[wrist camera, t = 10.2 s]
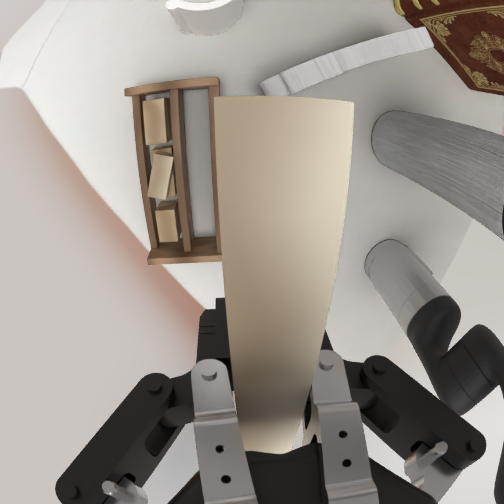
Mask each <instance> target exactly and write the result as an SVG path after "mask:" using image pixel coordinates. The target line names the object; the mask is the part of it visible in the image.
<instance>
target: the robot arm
mask: <svg viewBox="0 0 504 504" xmlns="http://www.w3.org/2000/svg"><path fill="white" fill-rule="evenodd" d="M365 272H366V274H367V276H368V277H369V278H370V280H371V281H372V283H373V284H374V286H375V287H376V289H377V290H378V292H379V293H380V295H381V296H382V298H383V299H384V301H385V302H386V304H387V305H388V307H389V308H390V310H391V312H392V313H393V315H394V316H395V318H396V319H397V321H398V322H399V324H400V326H401V327H402V329H403V330H404V332H405V334H406V335H407V337H408V338H409V340H410V341H411V343H412V345H413V347H414V349H415V351H416V353H417V355H418V357H419V358H420V360H421V362H422V364H423V366H424V368H425V370H426V372H427V374H428V376H429V379H430V381H431V383H432V385H433V387H434V389H435V391H436V393H437V396H438V397H439V399H440V400H439V399H438V398H437V397H435V396H434V395H433V394H432V393H430V392H429V391H428V390H427V389H425V388H424V387H423V386H422V385H420V384H419V383H418V382H417V381H415V380H414V379H413V378H412V377H410V376H409V375H408V374H407V373H405V372H404V371H403V370H402V369H400V368H399V367H398V366H397V365H395V364H394V363H393V362H392V361H390V360H389V359H387V358H386V357H384V356H380V355H374V356H371V357H369V358H367V359H366V360H365V362H364V363H359V362H350V361H346V360H343V359H342V358H341V356H340V355H339V354H337V353H336V352H334V351H333V348H332V346H331V343H330V340H329V338H328V335H327V333H326V330H325V332H324V336H323V341H322V345H321V349H320V353H319V357H318V361H317V365H316V369H315V373H314V377H313V380H312V384H311V388H310V391H309V395H308V399H307V402H306V405H305V409H304V412H303V415H302V419H303V442H302V447H300V448H297V449H295V450H292V451H289V452H287V453H284V454H274V453H265V452H258V451H245V450H244V445H243V441H242V436H241V432H240V427H239V423H238V418H237V414H236V412H235V407H234V402H233V395H232V391H234V384H233V375H232V366H231V356H230V346H229V336H228V325H227V314H226V303H225V298H216V309H206V310H205V311H204V312H203V313H202V315H201V316H200V322H199V335H198V347H197V361H196V364H195V366H194V367H193V369H192V370H191V371H190V372H188V373H186V374H184V375H182V376H179V377H175V378H171V379H170V378H169V377H167V376H166V375H164V374H161V373H151V374H148V375H146V376H144V378H142V379H141V380H140V381H139V382H138V384H137V385H136V386H135V387H134V389H133V390H132V391H131V392H130V393H129V395H128V396H127V397H126V398H125V399H124V401H123V402H122V403H121V404H120V405H119V407H118V408H117V409H116V410H115V411H114V413H113V414H112V415H111V416H110V417H109V419H108V420H107V421H106V422H105V424H104V425H103V426H102V427H101V428H100V429H99V431H98V432H97V433H96V434H95V436H94V437H93V438H92V439H91V440H90V441H89V443H88V444H87V445H86V446H85V448H84V449H83V450H82V451H81V452H80V454H79V455H78V456H77V457H76V459H75V460H74V461H73V462H72V463H71V465H70V466H69V467H68V468H67V469H66V471H65V472H64V473H63V474H62V475H61V477H60V478H59V479H58V481H57V483H56V487H55V490H56V495H57V497H58V499H59V500H60V502H61V503H62V504H147V503H148V499H147V495H146V493H145V491H144V490H143V489H142V487H143V485H144V484H145V482H146V481H147V480H148V478H149V477H150V475H151V474H152V473H153V471H154V470H155V468H156V467H157V465H158V464H159V462H160V461H161V460H162V458H163V457H164V455H165V454H166V452H167V451H168V449H169V448H170V447H171V445H172V443H173V442H174V441H175V439H176V438H177V436H178V435H179V433H180V432H181V430H182V429H183V427H184V426H185V424H187V423H191V422H194V433H195V441H196V449H197V457H198V464H199V471H198V472H197V473H196V474H195V475H194V476H193V477H192V478H191V479H190V480H189V481H188V482H187V484H186V485H185V486H184V487H183V488H182V489H181V490H180V491H179V492H178V493H177V494H176V495H175V496H174V497H173V498H172V499H171V500H170V502H169V503H168V504H438V502H439V501H440V500H441V498H442V497H443V496H444V495H445V493H446V492H447V491H448V489H449V488H450V487H451V486H452V484H453V483H454V481H455V480H456V479H457V477H458V476H459V474H460V473H461V472H462V470H463V469H465V468H466V467H468V466H469V465H471V464H472V463H474V462H475V461H477V460H478V459H480V458H481V457H482V455H483V454H484V453H485V450H486V440H485V437H484V436H483V435H482V434H481V433H480V432H479V431H478V430H476V429H475V428H474V427H473V426H471V425H470V424H469V423H468V422H467V421H465V420H464V419H463V418H461V417H460V416H461V415H463V414H465V413H466V412H468V411H469V410H470V409H472V408H473V407H474V406H475V405H476V404H477V403H479V402H480V401H481V400H482V399H484V398H485V397H486V396H487V395H488V394H489V393H490V392H491V391H492V390H494V388H496V387H497V386H498V385H500V387H501V390H502V393H503V398H504V346H503V345H502V343H501V342H500V341H499V339H498V338H497V337H496V336H495V334H494V333H493V332H492V331H491V330H490V329H488V328H487V327H485V326H484V325H480V324H479V325H475V326H474V327H473V328H472V329H470V330H469V331H468V333H466V334H465V335H464V336H463V337H462V338H461V339H460V340H459V341H458V342H457V343H456V344H455V345H454V346H453V347H452V348H451V349H450V350H449V351H448V347H449V344H450V342H451V339H452V337H453V335H454V333H455V331H456V330H457V328H458V325H459V322H460V319H461V312H460V308H459V306H458V305H457V303H456V302H455V301H454V300H453V299H452V298H451V296H450V295H449V294H448V293H447V292H446V291H445V289H444V288H443V287H442V286H441V285H440V284H439V283H438V282H437V281H436V280H435V278H434V277H433V276H432V271H431V270H430V269H429V268H428V267H427V266H426V265H425V264H424V263H423V262H422V261H421V259H420V258H419V257H418V256H417V255H416V254H415V253H414V252H413V251H412V250H411V249H410V248H409V247H408V246H403V245H402V244H401V243H400V242H398V241H396V240H386V241H383V242H381V243H379V244H378V245H376V246H375V247H374V248H373V249H372V250H371V251H370V253H369V254H368V256H367V258H366V261H365ZM447 351H448V352H447ZM362 422H363V423H364V424H365V425H366V426H368V427H369V428H370V429H371V430H372V431H373V432H374V433H375V434H376V435H377V436H378V437H380V439H382V440H383V441H384V442H385V443H386V444H387V445H388V446H389V447H390V448H392V449H393V450H394V451H395V452H396V453H397V454H398V455H399V456H400V457H402V458H403V459H404V460H405V464H404V469H405V474H406V475H407V476H409V478H410V479H411V483H412V484H411V483H409V482H407V481H406V480H404V479H402V478H401V477H399V476H398V475H396V474H394V473H393V472H391V471H389V470H388V469H386V468H385V467H383V466H382V465H380V464H379V463H377V462H375V461H374V460H373V459H371V458H370V457H368V451H367V446H366V440H365V435H364V430H363V424H362ZM494 497H495V501H496V504H504V443H503V448H502V453H501V458H500V462H499V466H498V471H497V476H496V481H495V488H494Z"/></svg>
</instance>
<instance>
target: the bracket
mask: <svg viewBox="0 0 504 504" xmlns="http://www.w3.org/2000/svg"><path fill="white" fill-rule="evenodd" d="M243 2H244V0H216V1H213V2H209V3H202V4H196V3H188V2H185V1H182V0H170V1H167V3H166V8H167V9H168V10H169V12H170V13H171V15H172V16H173V18H174V19H175V21H176V22H177V24H178V25H179V27H180V28H181V30H182V31H183V33H184V34H191V33H194V34H197V35H202V36H213V35H218V34H221V33H224V32H226V31H228V30H229V29H231V28H232V27H233V26H234V25H235V24H236V23H237V22H238V20H239V19H240V16H241V13H242V8H243Z"/></svg>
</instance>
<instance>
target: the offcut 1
mask: <svg viewBox="0 0 504 504" xmlns="http://www.w3.org/2000/svg"><path fill="white" fill-rule="evenodd" d="M143 114H144V128H145V139H146V145H153V144H161V143H167V142H169V141H170V140H172V124H171V106H170V99H169V98H161V99H154V100H147V101H143Z"/></svg>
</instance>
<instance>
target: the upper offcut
mask: <svg viewBox="0 0 504 504" xmlns="http://www.w3.org/2000/svg"><path fill="white" fill-rule="evenodd" d="M173 167H174V154H170V153H165V152H159V151H158V152H156V153H155V154H154V159H153V165H152V170H151V176H150V183H149V189H148V196H147V197H153V198H158V199H163V200H166V198H167V197H168V193H169V188H170V183H171V177H172V172H173Z"/></svg>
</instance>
